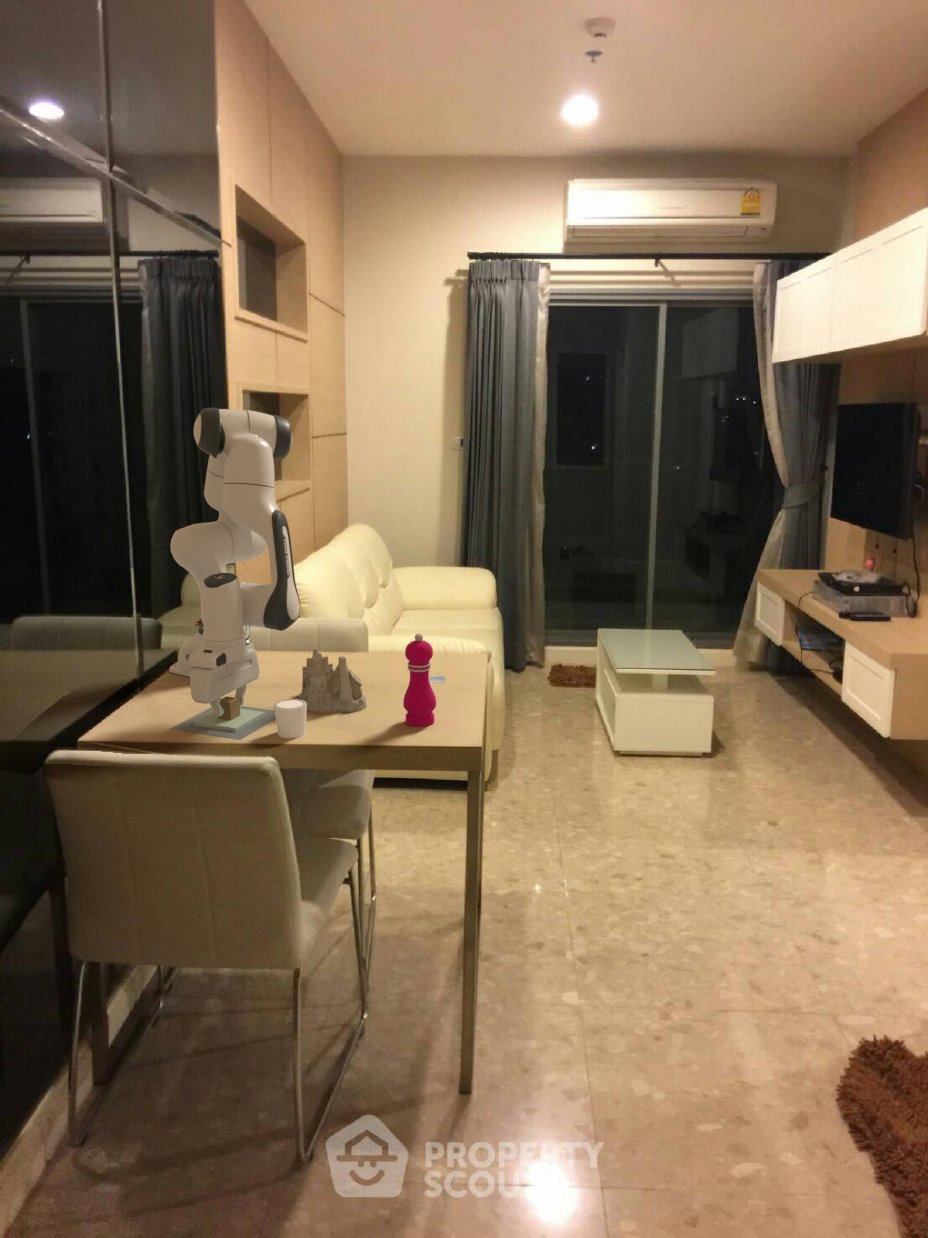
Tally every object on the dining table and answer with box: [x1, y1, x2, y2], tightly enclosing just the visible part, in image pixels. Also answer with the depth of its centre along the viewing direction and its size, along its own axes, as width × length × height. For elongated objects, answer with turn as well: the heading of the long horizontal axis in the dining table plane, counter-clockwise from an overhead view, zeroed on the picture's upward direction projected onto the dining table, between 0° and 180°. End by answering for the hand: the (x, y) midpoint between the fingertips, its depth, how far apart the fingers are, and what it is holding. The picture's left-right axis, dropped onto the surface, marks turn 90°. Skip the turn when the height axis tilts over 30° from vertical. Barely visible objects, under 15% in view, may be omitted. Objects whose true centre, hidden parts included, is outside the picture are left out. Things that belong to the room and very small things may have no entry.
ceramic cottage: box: [297, 647, 368, 714], centre depth 214 cm, size 16×16×15 cm
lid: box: [193, 695, 265, 732], centre depth 202 cm, size 11×11×5 cm
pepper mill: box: [402, 633, 437, 728], centre depth 200 cm, size 7×7×20 cm
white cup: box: [273, 698, 308, 739], centre depth 194 cm, size 7×7×7 cm
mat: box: [169, 705, 276, 741], centre depth 202 cm, size 18×18×1 cm
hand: (229, 710), depth 202 cm, fingers open, 6 cm apart
